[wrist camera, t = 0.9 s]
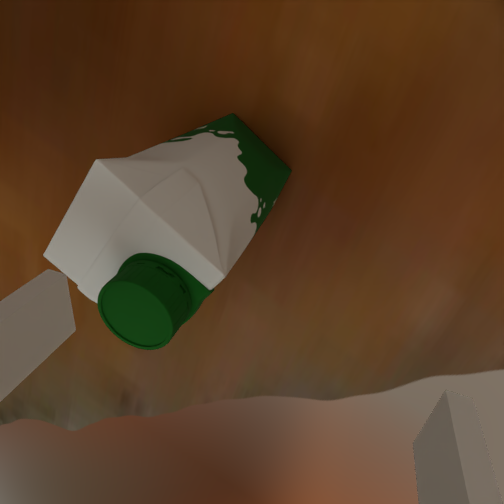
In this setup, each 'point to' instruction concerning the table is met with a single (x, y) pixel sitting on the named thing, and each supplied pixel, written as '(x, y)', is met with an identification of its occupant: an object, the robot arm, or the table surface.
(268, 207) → the milk carton
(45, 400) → the table surface
